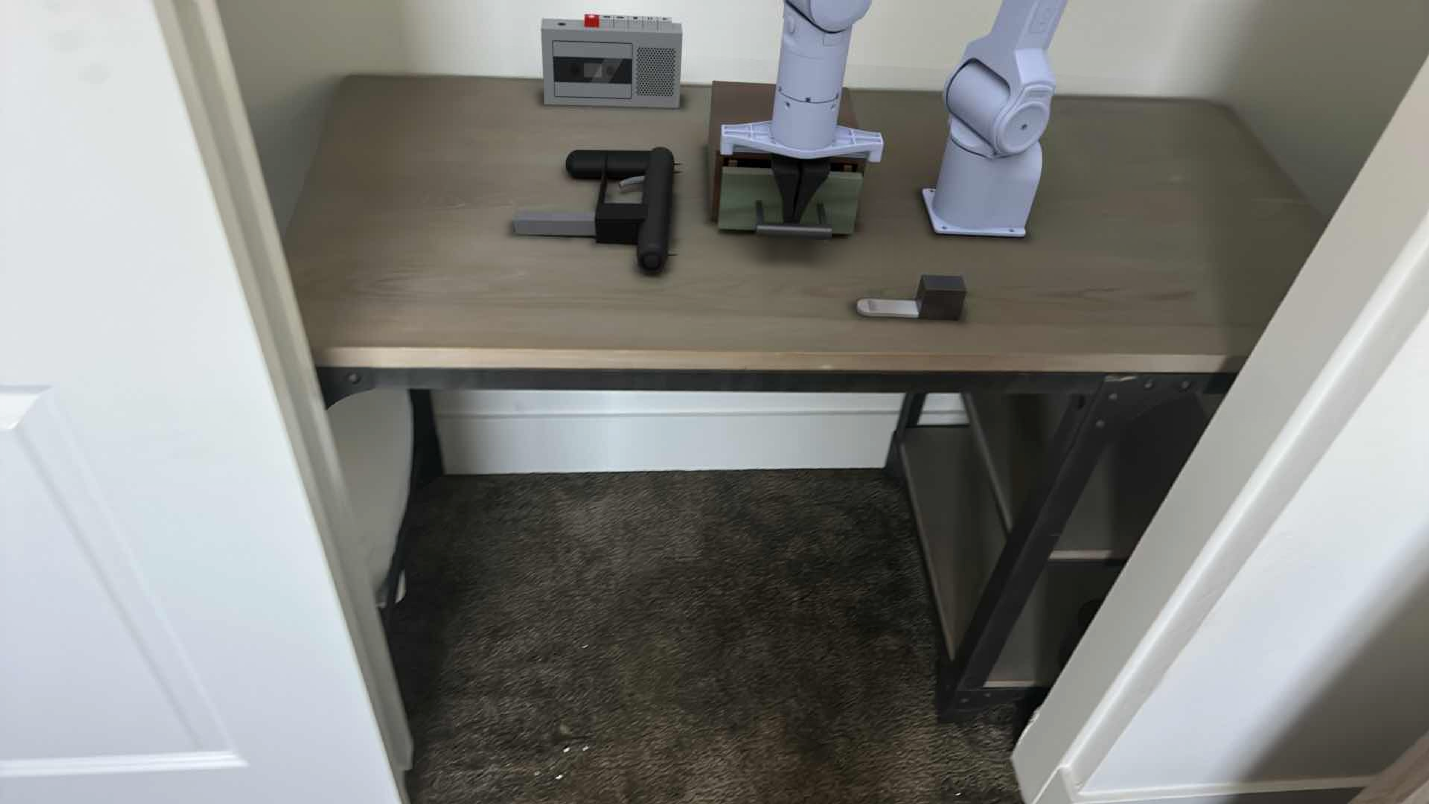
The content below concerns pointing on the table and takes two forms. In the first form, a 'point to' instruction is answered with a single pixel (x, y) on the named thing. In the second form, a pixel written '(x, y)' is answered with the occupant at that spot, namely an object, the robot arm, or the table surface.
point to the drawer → (759, 204)
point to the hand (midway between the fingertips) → (790, 221)
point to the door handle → (617, 204)
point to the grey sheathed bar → (923, 300)
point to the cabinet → (752, 106)
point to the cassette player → (612, 61)
